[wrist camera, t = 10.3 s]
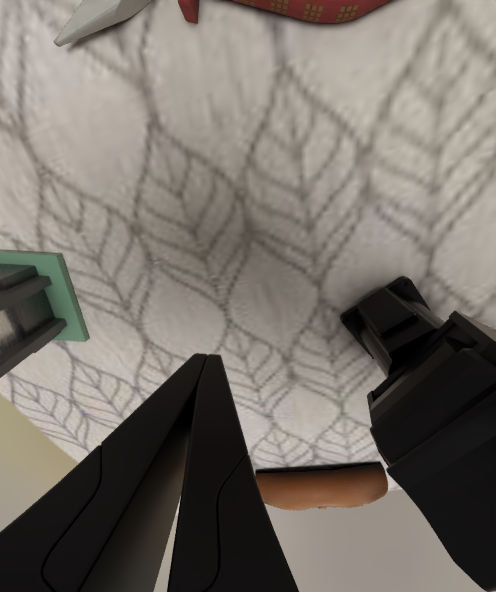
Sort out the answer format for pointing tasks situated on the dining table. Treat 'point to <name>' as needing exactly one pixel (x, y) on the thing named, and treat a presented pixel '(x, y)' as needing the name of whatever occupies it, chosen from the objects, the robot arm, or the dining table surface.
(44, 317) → the heat sink
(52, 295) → the socket board
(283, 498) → the sunglasses case
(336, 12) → the pliers
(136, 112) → the dining table surface
